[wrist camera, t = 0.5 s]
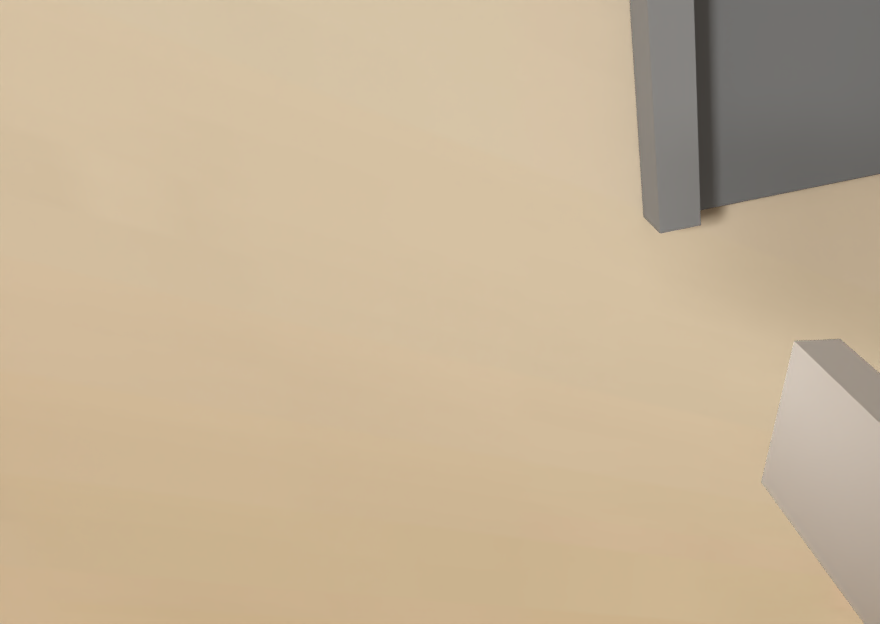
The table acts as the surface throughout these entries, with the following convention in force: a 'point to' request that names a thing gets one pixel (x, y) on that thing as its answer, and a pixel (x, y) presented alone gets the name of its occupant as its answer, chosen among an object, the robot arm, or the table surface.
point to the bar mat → (752, 100)
